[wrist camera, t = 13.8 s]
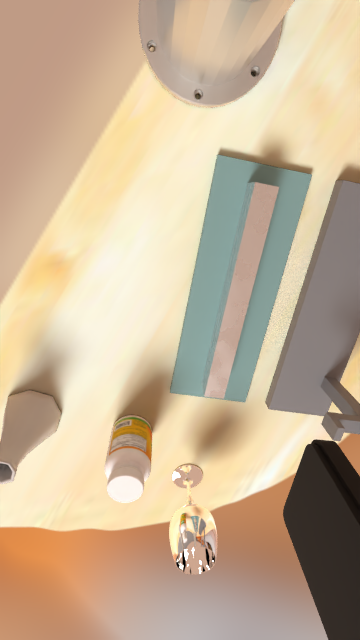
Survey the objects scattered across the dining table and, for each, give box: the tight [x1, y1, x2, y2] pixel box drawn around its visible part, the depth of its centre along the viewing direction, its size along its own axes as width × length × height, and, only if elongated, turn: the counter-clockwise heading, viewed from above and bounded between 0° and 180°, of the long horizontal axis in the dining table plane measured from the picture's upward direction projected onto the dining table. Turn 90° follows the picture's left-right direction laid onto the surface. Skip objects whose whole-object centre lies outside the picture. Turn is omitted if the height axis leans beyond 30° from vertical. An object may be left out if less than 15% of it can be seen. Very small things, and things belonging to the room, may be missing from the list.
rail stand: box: [265, 180, 360, 441], centre depth 34 cm, size 28×8×14 cm, turn 169°
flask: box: [0, 390, 61, 484], centre depth 39 cm, size 7×7×10 cm
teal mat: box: [170, 155, 312, 402], centre depth 39 cm, size 28×10×1 cm, turn 169°
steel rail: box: [201, 182, 279, 399], centre depth 37 cm, size 24×2×3 cm, turn 170°
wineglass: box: [169, 464, 217, 574], centre depth 43 cm, size 6×6×12 cm
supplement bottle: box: [105, 415, 152, 503], centre depth 41 cm, size 5×5×10 cm
